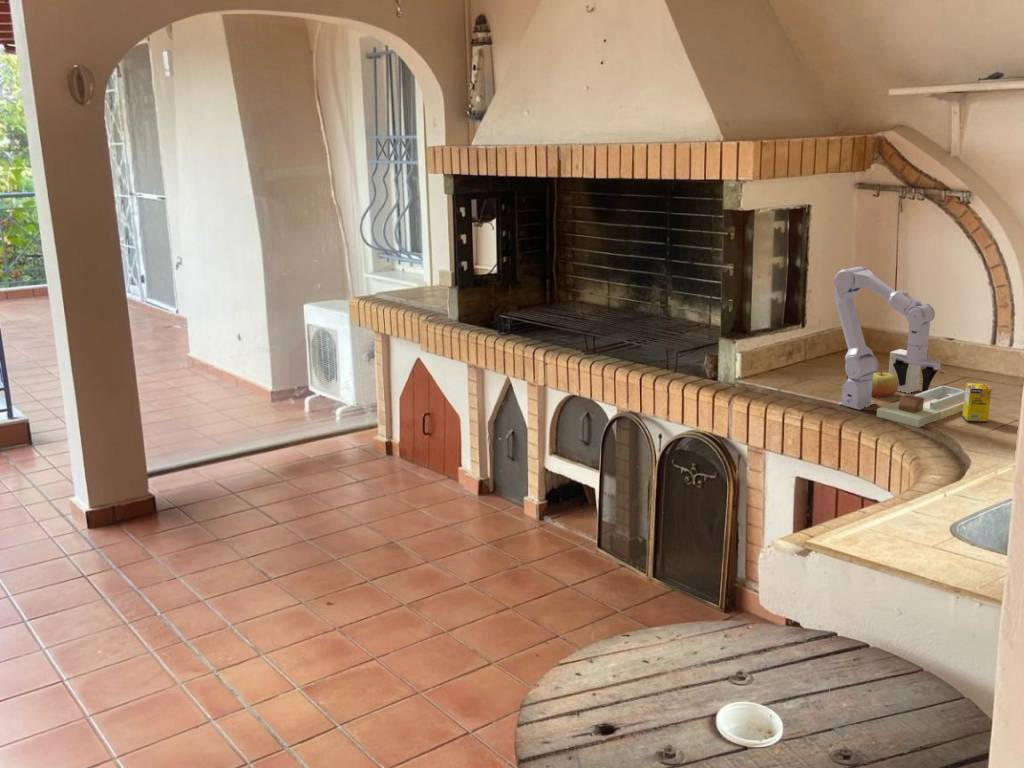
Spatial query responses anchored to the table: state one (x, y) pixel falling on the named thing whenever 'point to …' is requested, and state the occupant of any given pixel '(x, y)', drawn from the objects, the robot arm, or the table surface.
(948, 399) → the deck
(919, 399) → the block
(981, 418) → the supplement box
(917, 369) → the small box
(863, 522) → the table surface
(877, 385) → the apple
